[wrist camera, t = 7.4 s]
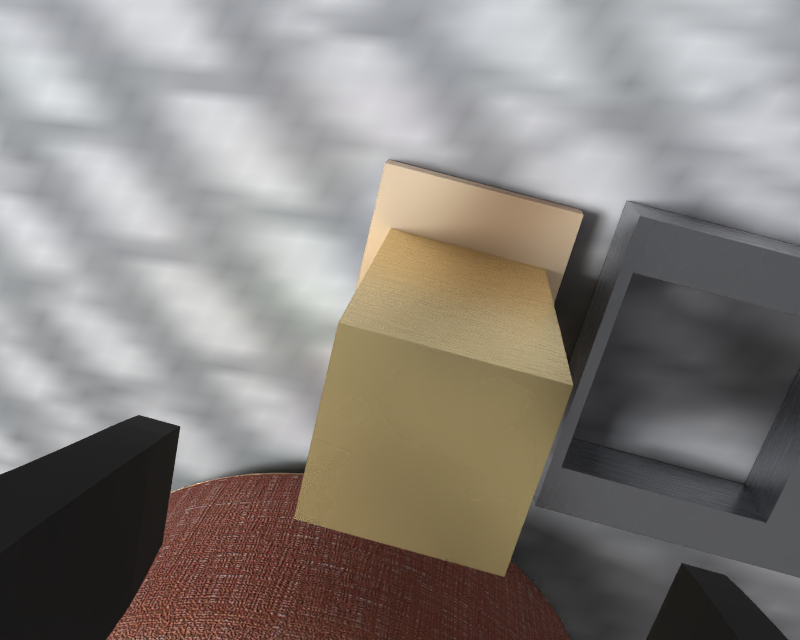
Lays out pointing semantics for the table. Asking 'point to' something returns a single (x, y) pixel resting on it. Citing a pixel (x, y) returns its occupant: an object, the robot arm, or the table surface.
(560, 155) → the table surface
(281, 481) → the planter
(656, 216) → the grey square frame
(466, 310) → the brushed brass bar
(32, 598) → the robot arm
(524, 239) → the coaster
